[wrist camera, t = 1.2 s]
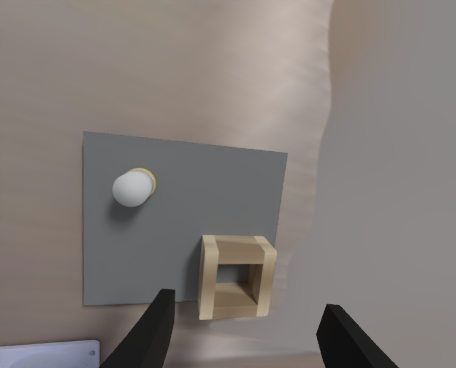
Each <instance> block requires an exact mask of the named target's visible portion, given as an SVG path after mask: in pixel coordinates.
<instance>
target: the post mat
mask: <svg viewBox="0 0 456 368" xmlns="http://www.w3.org/2000/svg"><path fill="white" fill-rule="evenodd" d="M83 152H84V306H87V305H110V304H134V303H152V302H153V300H154V299H155V297H156V296H157V294H158V293H159V291H160V290H161V289H162V288H163V289H173V290H175V302H181V301H198V297H197V291H198V280H199V268H200V257H201V246H202V235H225V236H264V237H265V238H266V240H267V241H268V242H269V243H270V244H271V245H272V247H273V248H274V246H275V239H276V232H277V225H278V218H279V210H280V203H281V196H282V189H283V182H284V175H285V168H286V161H287V154H288V153H282V152H273V151H264V150H254V149H245V148H236V147H226V146H217V145H208V144H198V143H189V142H179V141H170V140H161V139H151V138H142V137H133V136H123V135H114V134H105V133H95V132H86V131H83ZM249 266H250V264H218V267H217V277H216V283H245V282H248V274H249Z"/></svg>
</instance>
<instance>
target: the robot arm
mask: <svg viewBox="0 0 456 368" xmlns="http://www.w3.org/2000/svg"><path fill="white" fill-rule="evenodd" d="M174 317H175V290H173V289H163V288H162V289H161V290H160V291H159V293H158V294H157V296H156V297H155V299H154V300H153V302H152V303H151V304H150V306H149V307H148V309H147V310H146V311H145V313H144V314H143V315H142V317H141V318H140V319H139V321H138V322H137V323H136V324H135V326H134V327H133V328H132V330H131V331H130V332H129V333H128V335H127V336H126V337H125V338H124V339H123V341H122V342H121V343H120V344H119V345H118V346H117V348H116V349H115V350H114V351H113V352H112V353H111V355H110V356H109V357H108V358H107V359H106V360H105V361H104V362H103V363H102V365H101V366H100V342H99V341H97V340H84V341H71V342H57V343H43V344H29V345H15V346H1V347H0V368H162V366H163V363H164V360H165V357H166V354H167V351H168V347H169V343H170V339H171V334H172V330H173V325H174ZM316 336H317V340H318V344H319V348H320V351H321V355H322V359H323V362H324V365H325V367H326V368H399V367H397V365H395V363H394V362H392V361H391V359H390V358H389V357H388V356H387V355H386V354H385V353H384V352H383V351H382V350H381V349H380V348H379V347H378V346H377V345H376V344H375V343H374V342H373V341H372V340H371V338H370V337H369V336H368V335H367V334H366V333H365V332H364V331H363V330H362V329H361V328H360V327H359V325H358V324H357V323H356V322H355V321H354V320H353V319H352V318H351V317H350V316H349V315H348V314H347V313H346V312H345V310H344V309H343V308H342V307H341V306H340V305H333V304H327V305H326V308H325V310H324V313H323V316H322V319H321V322H320V325H319V328H318V331H317V333H316ZM93 351H95V352H93Z"/></svg>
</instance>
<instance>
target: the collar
mask: <svg viewBox="0 0 456 368" xmlns="http://www.w3.org/2000/svg"><path fill="white" fill-rule="evenodd" d="M276 256H277V251H276V250H275V249H274V248H273V247H272V245H271V244H270V243H269V242H268V241H267V240H266V238H265V237H264V236H225V235H202V246H201V257H200V268H199V280H198V291H197V297H198V310H199V320H206V319H222V318H239V317H255V316H268V311H269V304H270V297H271V291H272V284H273V277H274V270H275V263H276ZM218 264H250V266H249V274H248V282H245V283H216V277H217V267H218Z"/></svg>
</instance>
